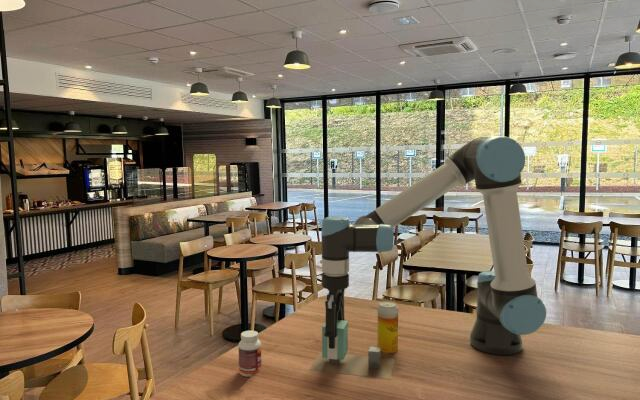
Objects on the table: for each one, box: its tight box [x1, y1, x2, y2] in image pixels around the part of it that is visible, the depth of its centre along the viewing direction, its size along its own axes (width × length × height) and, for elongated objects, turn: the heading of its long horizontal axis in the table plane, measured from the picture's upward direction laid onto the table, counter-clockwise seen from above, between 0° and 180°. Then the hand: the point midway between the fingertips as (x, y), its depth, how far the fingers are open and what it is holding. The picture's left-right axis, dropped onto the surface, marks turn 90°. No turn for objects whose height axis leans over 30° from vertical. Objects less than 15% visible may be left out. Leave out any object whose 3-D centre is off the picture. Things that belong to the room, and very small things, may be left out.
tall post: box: [329, 359, 342, 365], centre depth 132 cm, size 3×3×9 cm
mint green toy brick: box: [321, 320, 349, 360], centre depth 131 cm, size 6×6×9 cm
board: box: [309, 350, 396, 380], centre depth 131 cm, size 22×12×1 cm, turn 75°
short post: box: [367, 346, 382, 370], centre depth 129 cm, size 3×3×5 cm
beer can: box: [376, 300, 399, 354], centre depth 140 cm, size 6×6×15 cm
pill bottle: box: [238, 330, 262, 378], centre depth 129 cm, size 6×6×11 cm
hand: (335, 353), depth 132 cm, fingers closed on mint green toy brick, 6 cm apart
